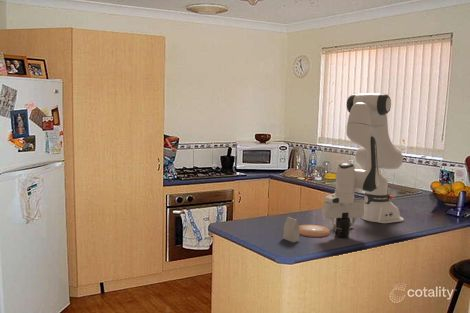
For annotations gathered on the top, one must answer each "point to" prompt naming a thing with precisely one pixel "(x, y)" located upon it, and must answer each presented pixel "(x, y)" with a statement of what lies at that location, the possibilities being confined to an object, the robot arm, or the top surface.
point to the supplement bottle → (342, 226)
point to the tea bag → (291, 230)
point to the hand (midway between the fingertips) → (342, 226)
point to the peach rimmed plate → (314, 230)
